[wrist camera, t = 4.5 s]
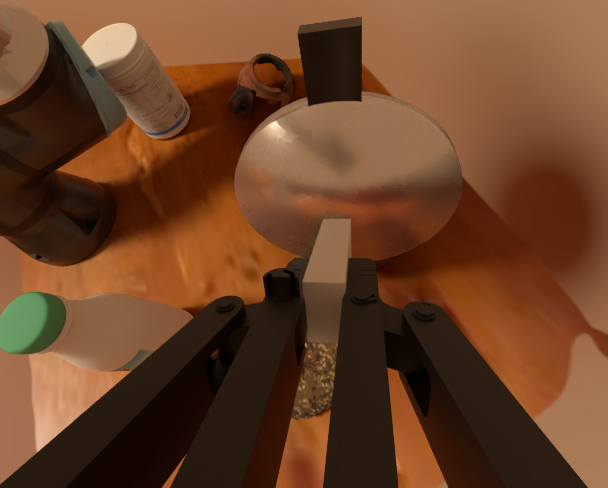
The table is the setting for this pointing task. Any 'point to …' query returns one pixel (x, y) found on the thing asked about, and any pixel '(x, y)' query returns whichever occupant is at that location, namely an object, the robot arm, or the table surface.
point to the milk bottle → (89, 328)
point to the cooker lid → (347, 159)
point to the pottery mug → (259, 86)
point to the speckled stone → (315, 380)
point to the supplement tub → (138, 80)
